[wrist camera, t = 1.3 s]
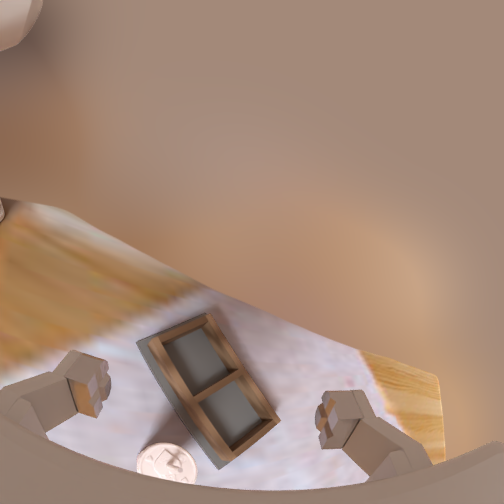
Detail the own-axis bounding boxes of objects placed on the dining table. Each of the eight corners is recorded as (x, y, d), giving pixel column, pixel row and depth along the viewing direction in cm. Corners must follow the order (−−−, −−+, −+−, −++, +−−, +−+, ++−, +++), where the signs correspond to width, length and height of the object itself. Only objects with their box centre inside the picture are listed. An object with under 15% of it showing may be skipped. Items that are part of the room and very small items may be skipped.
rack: (147, 345, 38) (151, 338, 36) (203, 320, 45) (210, 313, 43) (221, 460, 32) (231, 461, 30) (269, 422, 40) (281, 420, 38)
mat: (135, 343, 37) (136, 342, 37) (204, 313, 47) (205, 312, 46) (217, 469, 32) (219, 469, 31) (276, 423, 41) (278, 422, 40)
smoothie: (168, 438, 31) (207, 440, 22) (177, 480, 28) (221, 498, 19) (122, 440, 28) (140, 445, 19) (131, 484, 25) (154, 509, 15)
